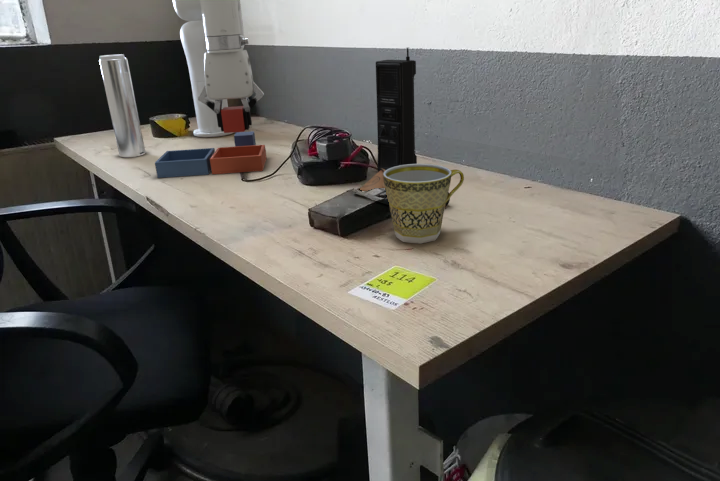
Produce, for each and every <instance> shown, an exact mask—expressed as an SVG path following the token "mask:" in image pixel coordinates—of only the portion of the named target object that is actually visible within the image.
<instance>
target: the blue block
mask: <svg viewBox="0 0 720 481" xmlns="http://www.w3.org/2000/svg"><path fill="white" fill-rule="evenodd" d="M233 141H234V147H235V146H251V145H257V143H256V135H255V131H254V130H251V131H245V132H235V133H234V135H233Z"/></svg>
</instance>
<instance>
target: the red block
mask: <svg viewBox="0 0 720 481" xmlns="http://www.w3.org/2000/svg"><path fill="white" fill-rule="evenodd" d="M243 112H244V106H243V105H238V106H237V105H236V106H228V107H224V108H223V109H222V110H221V115H222V122H223V129H224V133H231V132H235V133H236V132H246V131H247V130H246V129H245V125H244V117H243Z"/></svg>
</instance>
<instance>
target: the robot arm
mask: <svg viewBox="0 0 720 481" xmlns="http://www.w3.org/2000/svg"><path fill="white" fill-rule="evenodd" d="M172 5H173V8H174V11H175V13H176V15H177V16H178V18H180V19H181V20H182V21H185V23H183V24H182V25H181V27H180V30H179V37H180V38H179V39H180V42H181V45H182V48H183V51H184V55H185V58H186V64H187V67H188V73H189V79H190V85H191V92H192V99H193V105H194V111H195V117H196V123H197V128H195V129H194V130H193V136H194V137H198V138H215V137H223V136H229V135H233V134H235V133H236V132H231V133H224V129H223V122H222V115H221V110H222V109H223V108H224V107H229V104H228V102H229V101H228V100H237V99H238V100H239V99H240V101H241V104H242V106H244V112H243V117H244V125H245V129H246V130H245V131H249V129H250V127H251V126H252V125H253V122H252V114H251V110H252V109H253V108H254V106H255V105H256V104H257V103H258V102H259V101H260V100H261V99H262V98H264V96H265V93H264V91H262V89H261V88H260V87H259V86H258V85H257V84H256V82H254V76H253V70H252V64H251V60H250V56H249V53H248V51H247V49H244V48H245V46H246V45H249V44H250V41H249V40H250V39H249V37H245V30H244V22H243V14H242V7H241V6H242V4H241V0H172ZM253 94H255V95H254V96H253ZM251 96H253V97H252V98H251V99H249V98H250V97H251Z"/></svg>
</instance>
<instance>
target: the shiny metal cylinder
mask: <svg viewBox="0 0 720 481" xmlns="http://www.w3.org/2000/svg"><path fill="white" fill-rule="evenodd" d="M98 62H99V65H100V72H101V75H102V80H103V81H102V82H103V85H104V91H105V94H106V101H107V104H108V108H109V109H108V110H109V114H110V119H111V123H112V127H113V128H112V129H113V133H114V137H115V142H116V146H117V151H118V155H119V157H120V158H136V157H140V156H143V155H145V154H146V148H145V142H144V138H143V133H142V127H141V122H140V117H139V112H138V106H137V103H136V96H135V91H134V86H133V80H132V76H131V71H130V66H129V61H128V57H125V54H124V53H123V54H122V53H121V54H119V53H118V54H104V55H99V60H98Z"/></svg>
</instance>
